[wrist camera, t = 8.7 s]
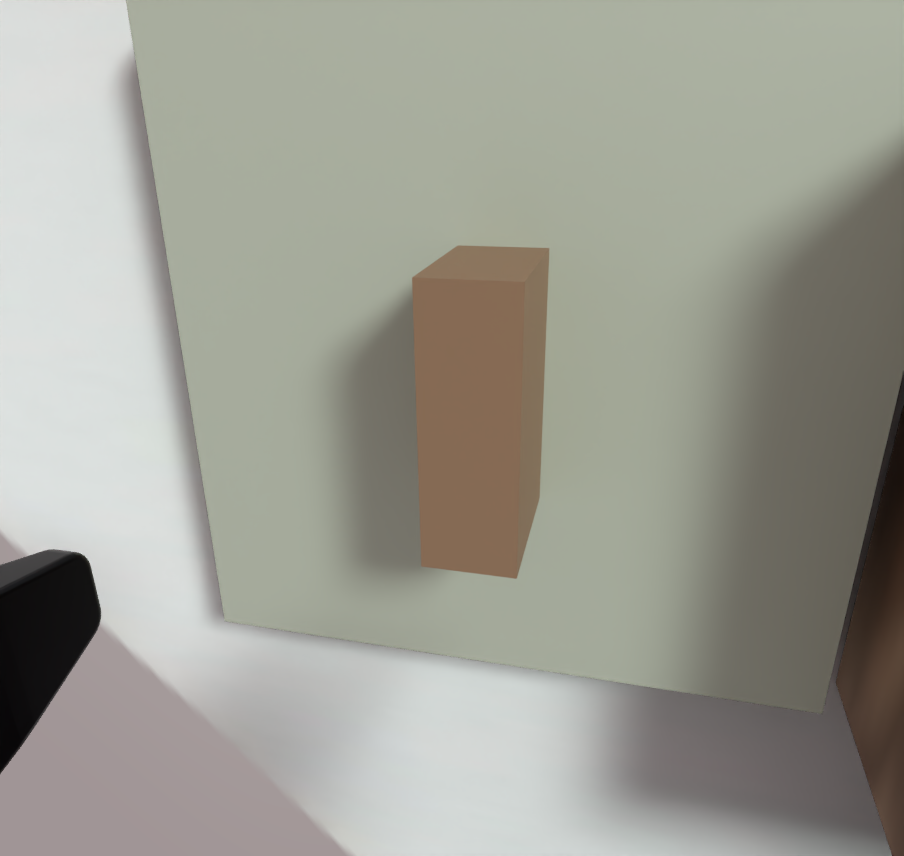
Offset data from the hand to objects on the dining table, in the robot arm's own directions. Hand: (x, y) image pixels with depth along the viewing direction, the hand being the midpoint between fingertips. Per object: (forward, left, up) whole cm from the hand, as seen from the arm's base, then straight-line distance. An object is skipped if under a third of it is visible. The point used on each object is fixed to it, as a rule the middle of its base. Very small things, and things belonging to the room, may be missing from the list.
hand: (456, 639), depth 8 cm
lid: (0, +1, -12) cm, 12 cm away
